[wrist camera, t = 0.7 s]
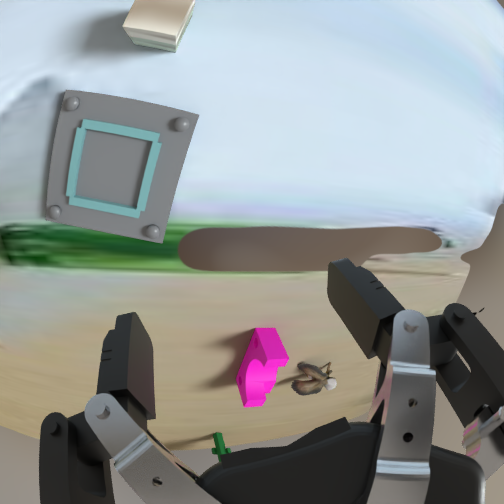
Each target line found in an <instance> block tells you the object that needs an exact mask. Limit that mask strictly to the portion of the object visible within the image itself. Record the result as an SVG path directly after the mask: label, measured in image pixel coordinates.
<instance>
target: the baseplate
mask: <svg viewBox="0 0 504 504" xmlns="http://www.w3.org/2000/svg"><path fill="white" fill-rule="evenodd" d="M198 117H199V115H198V114H194V113H190V112H187V111H183V110H179V109H175V108H171V107H167V106H162V105H158V104H153V103H149V102H144V101H139V100H134V99H129V98H123V97H117V96H111V95H105V94H99V93H91V92H84V91H75V90H66V91H65V95H64V99H63V103H62V107H61V111H60V115H59V119H58V124H57V129H56V134H55V139H54V145H53V150H52V157H51V164H50V172H49V181H48V191H47V204H46V220H48V221H53V222H57V223H62V224H67V225H72V226H77V227H82V228H87V229H92V230H97V231H102V232H107V233H112V234H117V235H122V236H127V237H132V238H137V239H142V240H147V241H152V242H157V243H163V239H164V234H165V230H166V226H167V222H168V218H169V214H170V210H171V206H172V202H173V199H174V195H175V191H176V188H177V184H178V180H179V177H180V174H181V170H182V167H183V163H184V160H185V157H186V154H187V150H188V147H189V144H190V141H191V138H192V135H193V132H194V129H195V126H196V123H197V120H198Z"/></svg>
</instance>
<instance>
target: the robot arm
mask: <svg viewBox="0 0 504 504" xmlns="http://www.w3.org/2000/svg"><path fill="white" fill-rule="evenodd" d="M327 293H328V298H329V301H330V303H331V305H332V306H333V308H334V309H335V311H336V312H337V314H338V315H339V316H340V318H341V319H342V321H343V322H344V324H345V325H346V327H347V328H348V330H349V331H350V333H351V334H352V336H353V337H354V339H355V340H356V342H357V343H358V345H359V346H360V348H361V349H362V351H363V352H364V354H365V355H366V357H367V358H368V359H370V358H373V357H375V356H378V358H379V359H380V361H379V366H378V372H377V379H376V385H375V390H374V396H373V401H372V405H371V408H370V411H369V414H368V417H367V421H366V422H350V423H348V421H347V419H346V417H343V418H341V419H338V420H336V421H333V422H331V423H328V424H326V425H323V426H320V427H318V428H315V429H314V430H312V431H311V432H309V433H308V434H306V435H305V436H303V437H301V438H300V439H298V440H297V441H295V442H293V443H292V444H290V445H288V446H283V447H269V448H268V447H267V448H249V449H245V450H241V451H237V452H232V453H227V454H222V455H220V458H221V462H219V463H217V464H215V465H213V466H212V467H210V468H209V469H207V470H206V471H205V472H204V473H203V474H202V475H201V476H199V475H198V474H197V473H195V472H194V471H193V470H192V469H190V468H189V467H188V466H187V465H185V464H184V463H183V462H182V461H180V460H179V459H178V458H177V457H176V456H175V455H174V454H173V453H171V452H170V451H169V450H168V449H167V448H166V447H165V446H164V445H163V444H162V443H161V442H160V441H159V440H158V439H157V438H156V437H155V436H154V435H153V434H152V433H151V432H150V431H149V430H148V429H147V420H150V419H156V414H155V397H154V370H153V346H152V342H151V339H150V337H149V335H148V333H147V331H146V330H145V328H144V326H143V324H142V322H141V320H140V319H139V317H138V315H137V314H136V313H135V312H132V313H127V314H123V315H118V316H117V318H116V325H115V329H114V330H109V332H108V334H107V335H106V337H105V339H104V341H103V347H102V354H101V362H100V368H99V376H98V385H97V393H96V395H95V396H93V397H92V398H91V399H90V400H89V401H88V403H87V404H86V407H85V411H83V412H81V413H79V414H76V415H74V416H71V417H69V418H66V417H65V416H64V415H62V414H61V413H58V412H54V413H51V414H49V415H48V416H46V418H45V419H44V420H43V422H42V425H41V434H40V451H39V452H40V453H39V486H40V503H41V504H115V500H114V494H113V487H112V479H111V471H110V461H109V459H111V458H113V459H114V460H115V463H114V466H115V468H116V470H117V471H118V473H119V474H120V475H121V476H122V477H123V479H124V480H125V481H126V482H127V483H128V485H129V486H130V487H131V488H132V489H133V490H134V491H135V493H136V494H137V495H138V496H139V497H140V498H141V499H142V500H143V501H144V502H145V503H146V504H485V481H486V480H487V479H488V478H489V477H490V476H491V475H492V474H493V473H494V472H495V471H497V470H498V469H499V468H500V467H501V466H502V465H503V464H504V350H503V349H502V348H501V347H500V346H499V344H498V343H497V342H496V340H495V339H494V338H493V337H492V336H491V334H490V333H489V332H488V331H487V329H486V328H485V327H484V326H483V325H482V324H481V323H480V321H479V320H478V319H477V318H476V317H475V315H474V314H473V313H472V312H471V311H470V310H469V309H468V308H467V307H465V306H464V305H462V304H458V303H452V304H449V305H448V306H447V307H446V308H445V310H444V312H443V314H442V315H437V316H430V317H425V316H424V315H423V314H421V313H420V312H418V311H415V310H406V309H405V308H404V307H403V306H402V305H401V304H400V303H399V302H398V301H397V300H396V298H395V297H394V296H393V295H392V294H391V293H390V292H389V291H388V290H387V289H386V287H384V285H383V284H382V283H381V282H380V281H378V279H377V278H376V277H375V276H374V275H373V274H372V273H371V272H370V271H368V270H367V269H365V268H363V267H361V266H359V267H355V266H354V264H353V263H352V262H351V261H350V260H349V259H348V258H344V259H341V260H337V261H333V262H330V263H329V266H328V286H327ZM457 351H459V353H460V354H461V355H462V356H463V358H464V359H465V361H466V362H467V363H468V365H469V367H470V369H471V373H470V371H469V370H468V368H467V367H466V366H465V364H464V363H463V361H462V360H461V359H460V357H459V356H458V355H457V353H456V352H457ZM436 381H437V383H438V384H439V386H440V388H441V389H442V391H443V392H444V394H445V396H446V397H447V399H448V401H449V402H450V404H451V406H452V407H453V409H454V411H455V412H456V414H457V416H458V417H459V419H460V421H461V423H462V424H463V426H464V428H465V430H464V435H463V437H464V438H463V441H462V446H463V447H464V448H465V449H466V455H463V454H460V453H456V452H453V451H450V450H447V449H443V448H440V447H437V446H434V445H432V444H431V443H432V434H433V425H434V413H435V396H436Z"/></svg>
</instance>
